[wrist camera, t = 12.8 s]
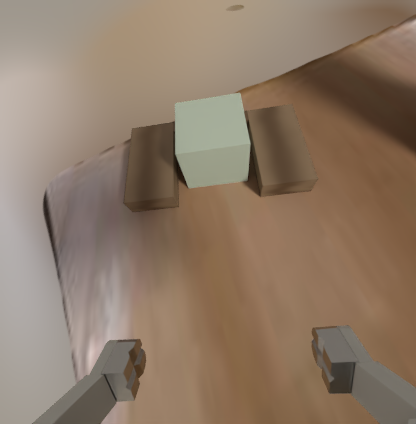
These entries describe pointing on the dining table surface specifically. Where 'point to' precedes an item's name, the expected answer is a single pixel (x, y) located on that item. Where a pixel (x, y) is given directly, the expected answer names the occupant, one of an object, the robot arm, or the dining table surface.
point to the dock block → (261, 151)
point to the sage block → (212, 140)
